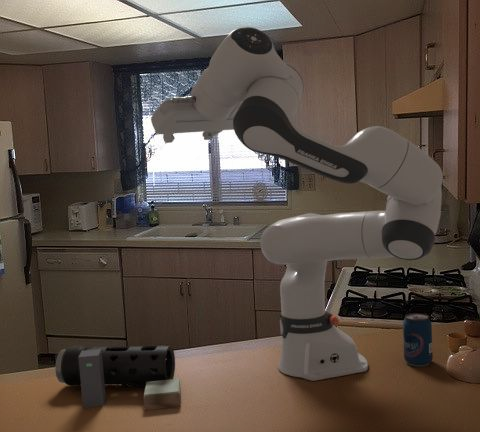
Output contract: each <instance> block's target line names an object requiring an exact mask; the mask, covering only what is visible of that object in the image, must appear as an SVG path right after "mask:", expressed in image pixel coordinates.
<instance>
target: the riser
mask: <svg viewBox="0 0 480 432" xmlns="http://www.w3.org/2000/svg"><path fill="white" fill-rule="evenodd" d="M144 387H145V388H144V392H143V406H144V411H150V410H151V411H152V410H160V409H171V408H180V407H181V406H182V389H181V388H182V387H181V379H180V378H173V379H170V380H160V381H150V382H146V386H144Z"/></svg>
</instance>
